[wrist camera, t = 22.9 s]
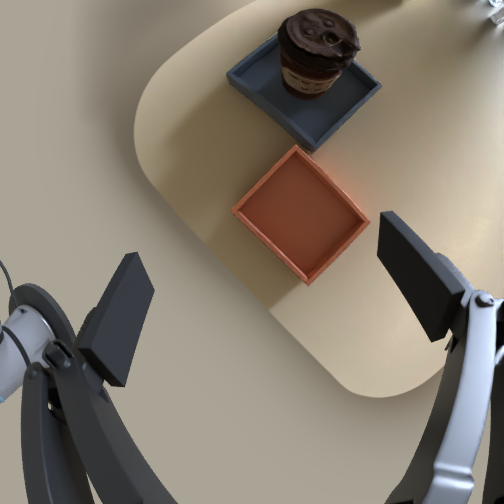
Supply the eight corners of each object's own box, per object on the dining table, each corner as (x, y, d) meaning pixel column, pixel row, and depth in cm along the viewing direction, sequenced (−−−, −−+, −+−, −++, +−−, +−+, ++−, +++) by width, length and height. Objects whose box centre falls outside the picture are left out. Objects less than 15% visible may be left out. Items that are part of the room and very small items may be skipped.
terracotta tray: (233, 210, 35) (229, 210, 32) (293, 149, 33) (295, 143, 30) (304, 279, 36) (308, 286, 33) (362, 220, 34) (371, 222, 31)
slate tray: (229, 83, 32) (225, 73, 29) (296, 30, 30) (298, 18, 26) (311, 154, 33) (316, 149, 30) (374, 93, 31) (382, 85, 28)
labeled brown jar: (337, 112, 31) (371, 71, 18) (275, 109, 32) (280, 62, 19) (332, 60, 30) (356, 8, 17) (273, 56, 30) (276, -1, 17)
